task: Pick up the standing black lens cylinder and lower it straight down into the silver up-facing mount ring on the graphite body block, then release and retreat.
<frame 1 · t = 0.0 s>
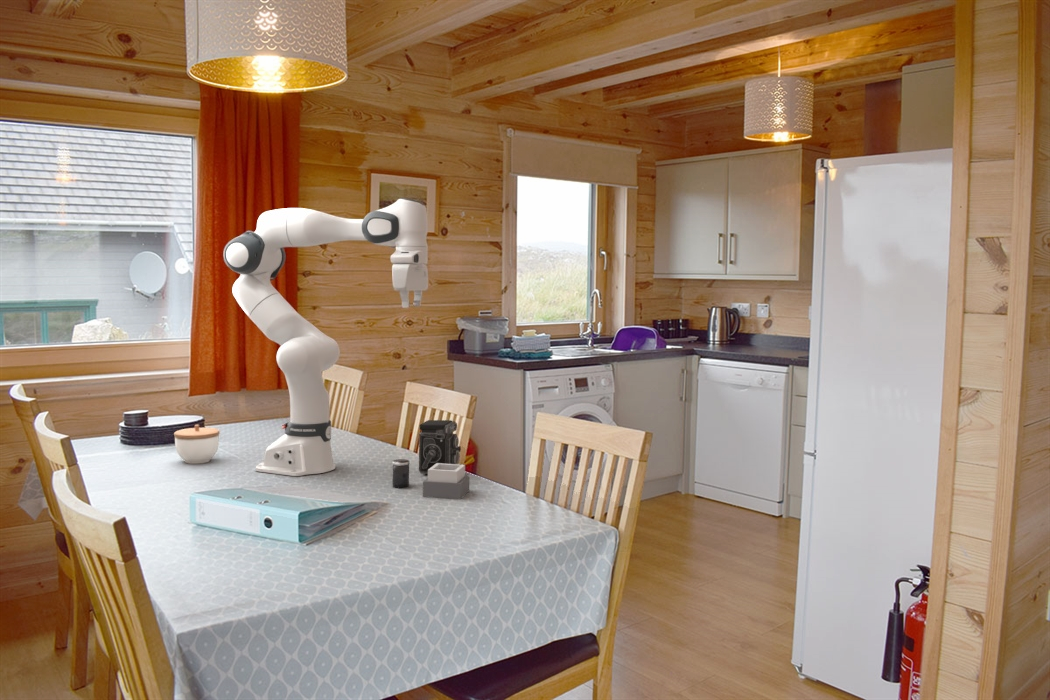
hand: (411, 307, 224), 48 cm above the table, fingers open, 8 cm apart
lidded bowl: (197, 461, 242), on the table
lens: (400, 486, 216), on the table
camera: (440, 473, 232), on the table
mount block: (446, 493, 210), on the table
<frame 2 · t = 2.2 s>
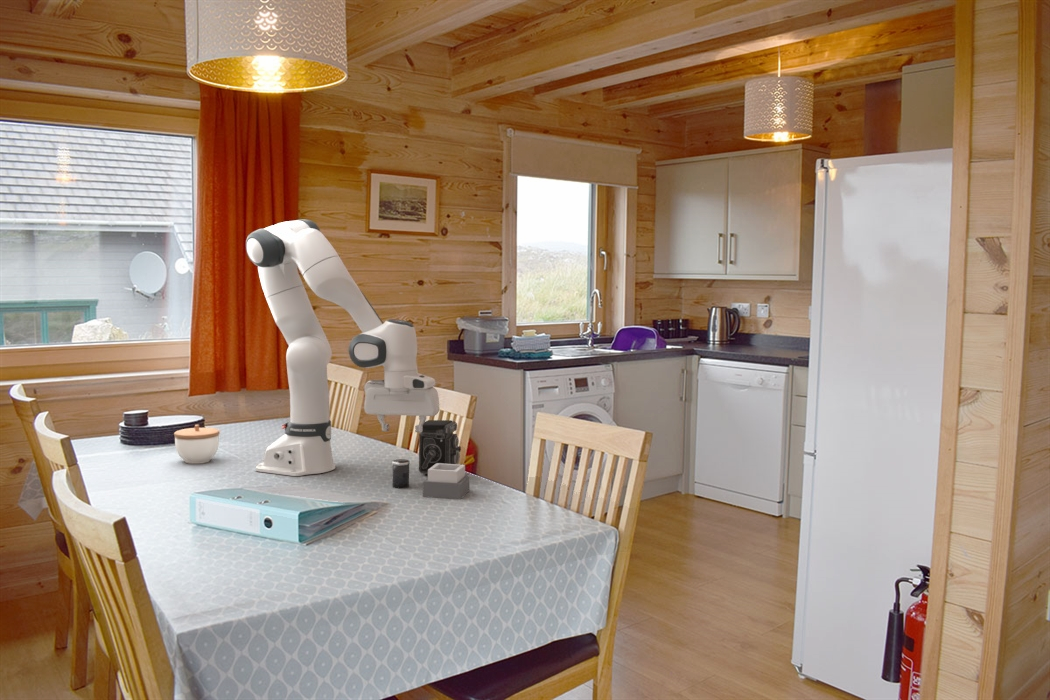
hand: (402, 431, 215), 15 cm above the table, fingers open, 8 cm apart
nothing on the table moved.
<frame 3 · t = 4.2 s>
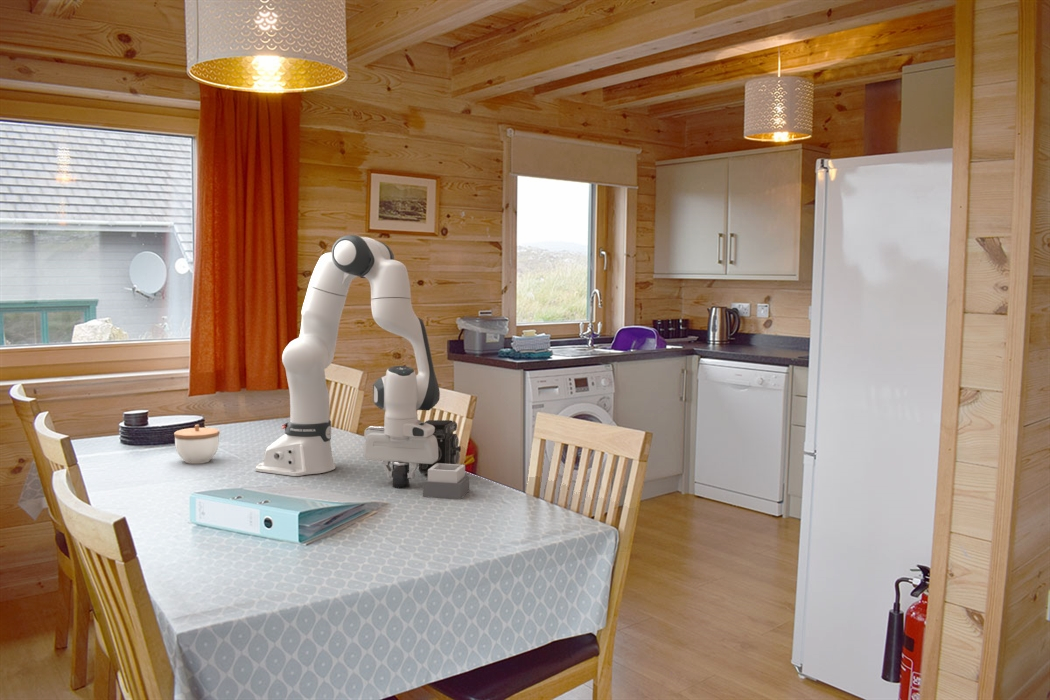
hand: (400, 477, 216), 2 cm above the table, fingers closed on lens, 4 cm apart
lens: (400, 486, 216), on the table, touching gripper
everything else where it was.
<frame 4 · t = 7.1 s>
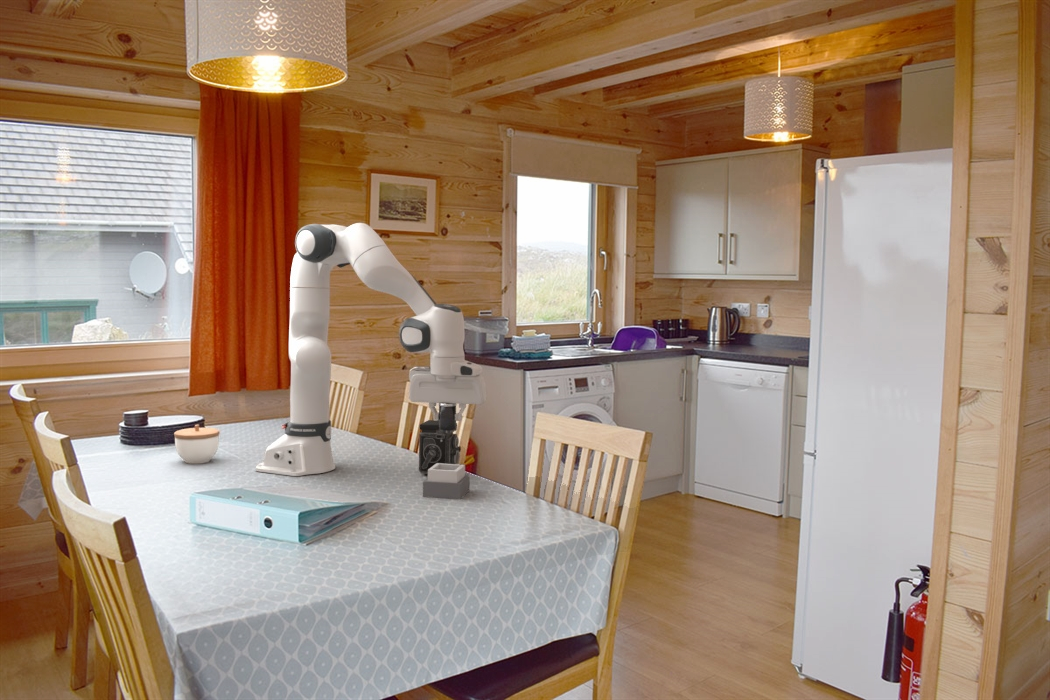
hand: (447, 420, 208), 19 cm above the table, fingers closed on lens, 4 cm apart
lens: (447, 428, 208), point 17 cm above the table, touching gripper
everything else where it was.
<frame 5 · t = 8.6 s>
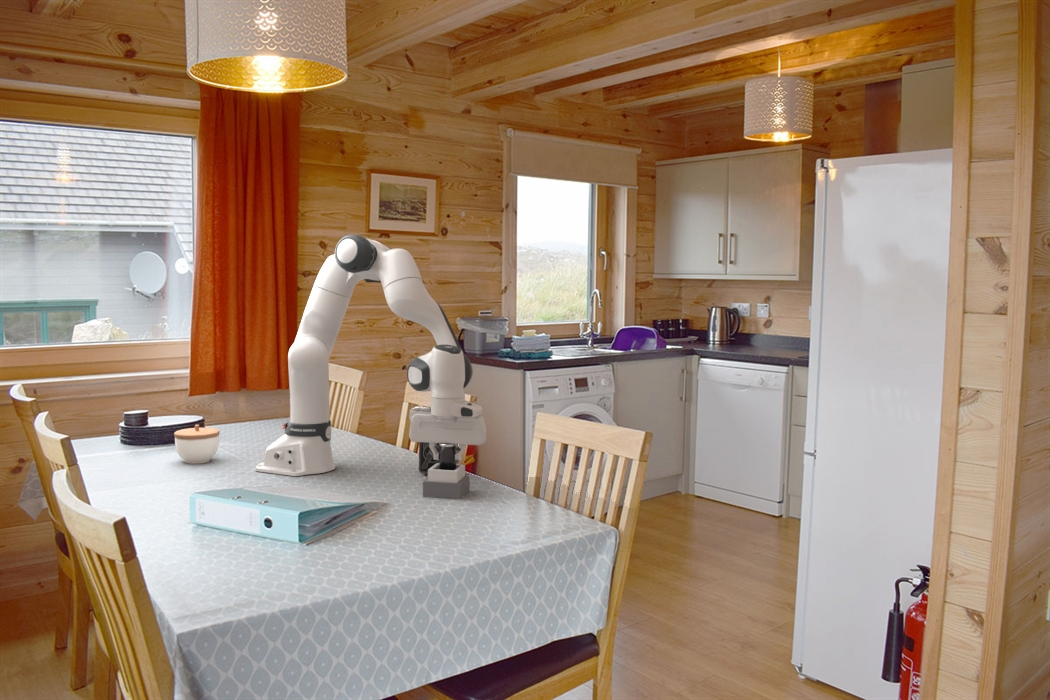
hand: (447, 460, 209), 9 cm above the table, fingers closed on lens, 4 cm apart
lens: (447, 468, 209), point 7 cm above the table, touching gripper
everything else where it was.
when the fingers open (8 cm above the table, at t = 9.8 s): lens drops 2 cm, resting on mount block.
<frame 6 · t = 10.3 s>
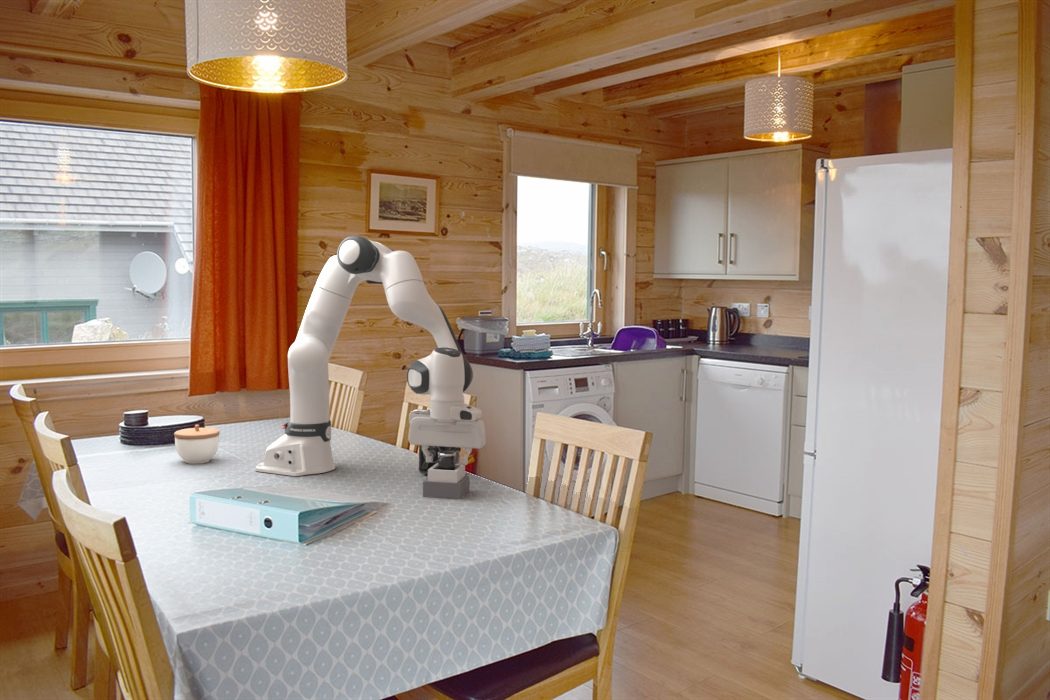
hand: (446, 463, 209), 8 cm above the table, fingers open, 8 cm apart
lens: (446, 478, 209), point 4 cm above the table, touching mount block
everything else where it was.
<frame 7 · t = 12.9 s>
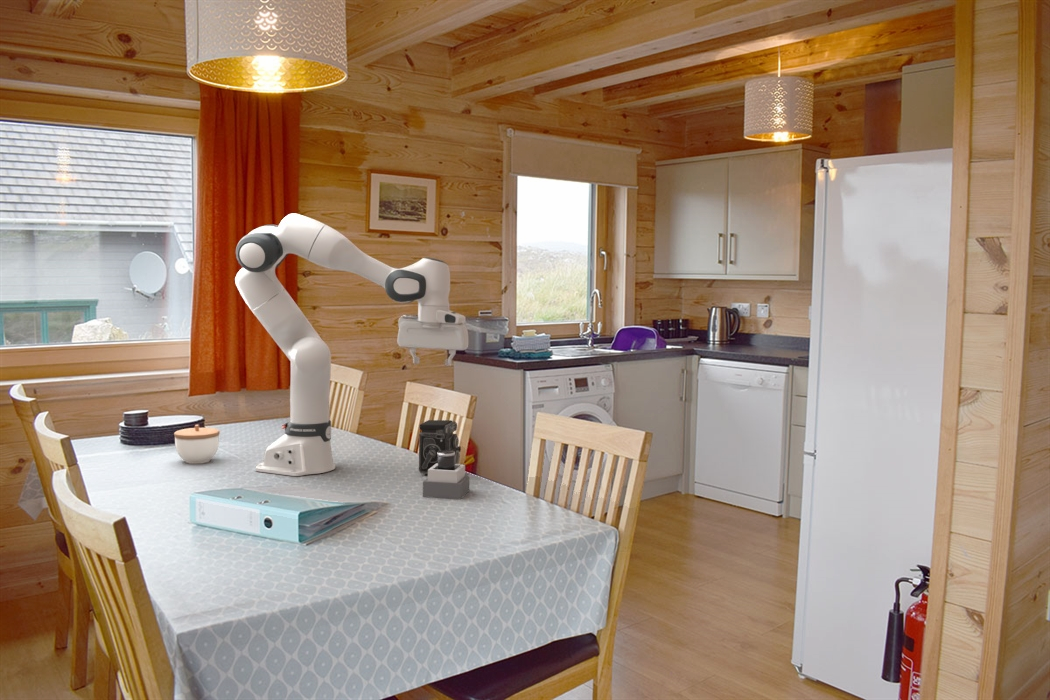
hand: (432, 364, 227), 32 cm above the table, fingers open, 8 cm apart
nothing on the table moved.
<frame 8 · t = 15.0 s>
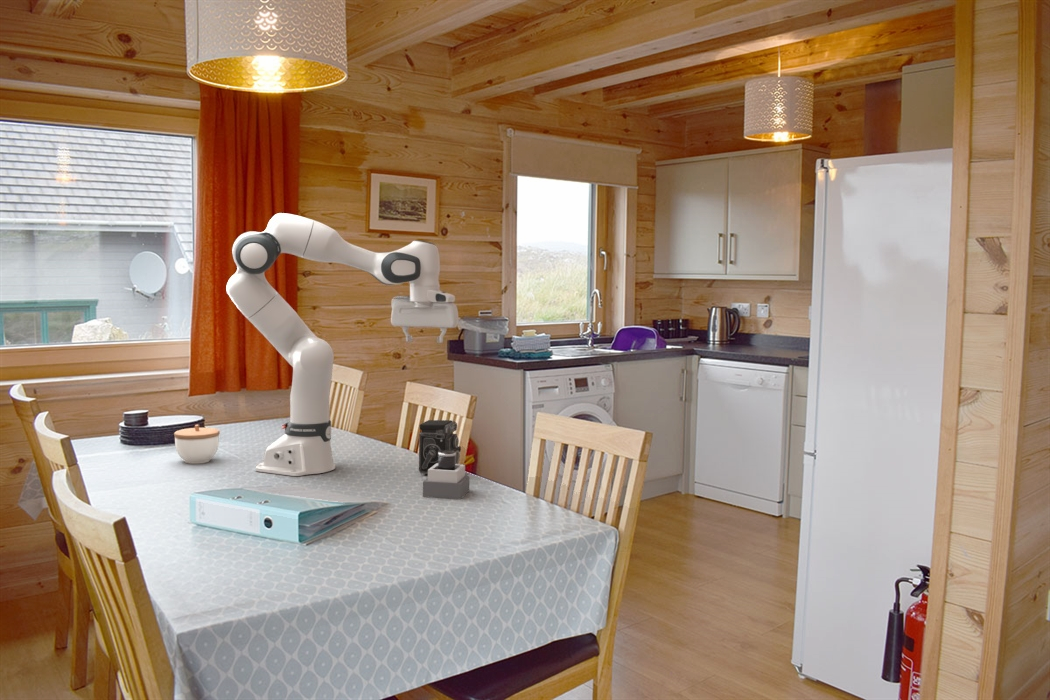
hand: (424, 342, 239), 37 cm above the table, fingers open, 8 cm apart
nothing on the table moved.
at the end: lens 0.2 cm off-centre on the mount block, point 4.0 cm above the mount block's base; lens tilted 1°; the gripper is holding nothing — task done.
